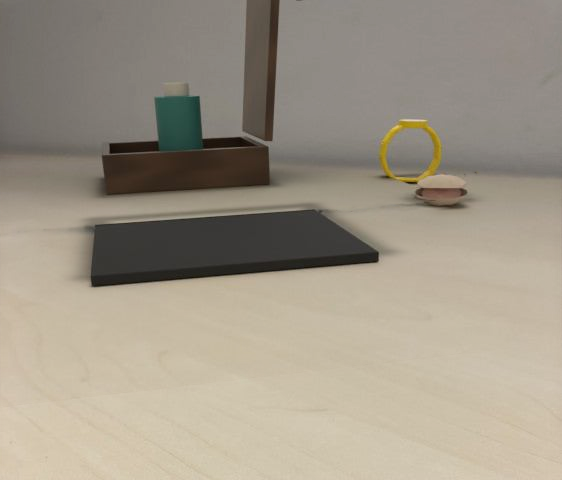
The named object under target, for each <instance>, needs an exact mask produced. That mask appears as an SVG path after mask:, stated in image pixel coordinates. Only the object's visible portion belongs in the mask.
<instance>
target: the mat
mask: <svg viewBox="0 0 562 480" xmlns="http://www.w3.org/2000/svg"><path fill="white" fill-rule="evenodd" d="M93 234H94V235H93V245H92V257H91V267H90V268H91V269H90V283H91V286H92V287H97V286H107V285H119V284H120V285H121V284H130V283H132V284H133V283H142V282H154V281H165V280H166V281H167V280H176V279H177V280H178V279H189V278H201V277H210V276H211V277H212V276H223V275H224V276H225V275H234V274H235V275H236V274H247V273H259V272H269V271H270V272H271V271H281V270H293V269H305V268H316V267H326V266H337V265H338V266H339V265H351V264H361V263H373V262H375V263H376V262H379V260H380V253H379V251H378V250H377V249H375V248H374V247H372V246H371V245H369V244H368V243H366V242H365V241H363V240H362V239H360V238H358V237H357V236H356V235H354V234H353V233H351V232H350V231H348V230H346V229H345V228H343V227H342V226H340V225H339V224H337V223H336V222H335V221H333V220H331V219H330V218H328V217H327V216H325V215H324V214H323V213H321V212H320V211H317V210H316V209H314V208H313V209H300V210H299V209H298V210H287V211H273V212H272V211H270V212H258V213H243V214H242V213H241V214H228V215H217V216H216V215H215V216H203V217H201V216H200V217H199V216H198V217H188V218H187V217H186V218H172V219H158V220H145V221H144V220H143V221H131V222H128V221H127V222H117V223H115V222H114V223H101V224H100V223H99V224H95V225H94V233H93Z"/></svg>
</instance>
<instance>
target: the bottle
mask: <svg viewBox="0 0 562 480" xmlns="http://www.w3.org/2000/svg"><path fill="white" fill-rule="evenodd" d="M163 94H164V95H160V96H154V98H153V99H154V110H155V121H156V133H157V140H158V143H159V151H177V150H196V149H203V138H204V137H203V125H202V112H201V111H202V110H201V97H200V95H199V94H190V87H189V82H184V81H183V82H164V83H163Z"/></svg>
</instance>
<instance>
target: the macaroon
mask: <svg viewBox="0 0 562 480" xmlns="http://www.w3.org/2000/svg"><path fill="white" fill-rule="evenodd" d="M414 188H415V189H416V190H415V191H414V193H415V197H416V199H419V200H423V201H424V200H425V201H424V203H425V204H426V205H429V206H437V207H443V206H453V205H455V204H457V203H459V202H461V201H463V200H465V198H466V196H467V194H468V190H467V189H469V187H468V185H467V181H465V180H463V179H461V178H460V177H458V176H456V175H449V174H443V173H441V174H433V175H432V176H427V177H426V178H424V179H422V180H420V181H418V182H416V185H415V187H414Z"/></svg>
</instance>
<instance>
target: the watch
mask: <svg viewBox="0 0 562 480" xmlns="http://www.w3.org/2000/svg"><path fill="white" fill-rule="evenodd" d="M428 124H429V123H428V120H427V119H416V118H415V119H414V118H413V119H412V118H404V119H399V120H398V124H397V125H395V126H393V127H392V128H390V130H388V132H387V133H386V134H385V136H384V138H383V139H382V140H381V143H380V148H379V152H378V160H379V164H380V167H381V170H382V172H383V173H384V174H385V176H387V177H389V178H391V179H394V180H396V181H400V182H402V183H418V181H420V180H422V179H424V178H426V177H427V176H434V175H435V173H436V171H437V169H438V167H439V165H440V163H441V160H442V143H441V141H440V138H439V136H438V134H437V132H436V131H435V130H434V129H433V128H431V127H430V126H429V125H428ZM404 129H422V131H424V132H425V133H426V134H428V135H429V137H430V139H431V142H432V145H433V158H432V160H431V162H430V164H429V166H428V168H427V170H425V172H423V173H422V174H421V175H419V176H418V177H403V176H401V177H400V176H395V175H394V174H393V172H392V171H390V168H389V165H388V162H387V159H386V158H387V152H388V148H389V147H388V145H389V144H390V142H391V141H392V139H393V138H394V136H395V135H396V134H397V133H399V132H401V131H403V130H404Z"/></svg>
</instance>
